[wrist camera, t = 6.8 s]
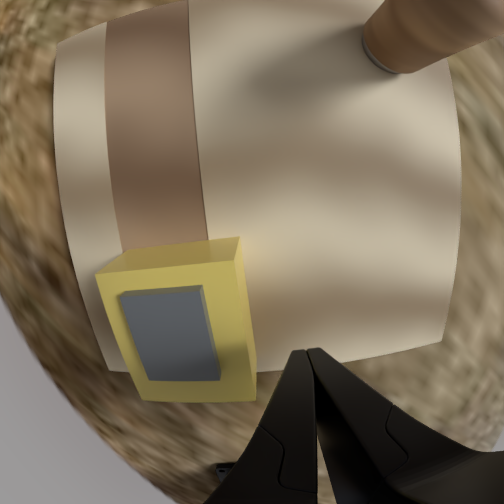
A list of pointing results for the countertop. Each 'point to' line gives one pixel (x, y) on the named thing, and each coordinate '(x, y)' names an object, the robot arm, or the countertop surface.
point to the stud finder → (183, 321)
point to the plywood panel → (265, 167)
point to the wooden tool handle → (428, 31)
